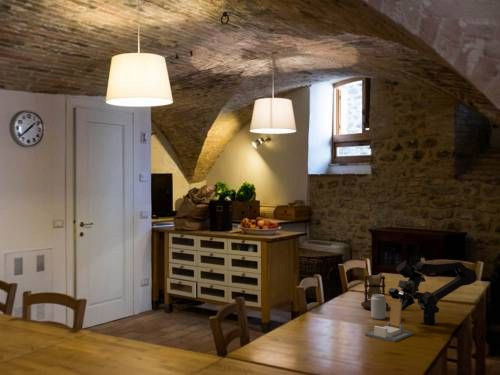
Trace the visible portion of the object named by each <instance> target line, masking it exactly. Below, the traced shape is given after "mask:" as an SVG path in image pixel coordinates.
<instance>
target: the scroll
mask: <svg viewBox="0 0 500 375" xmlns="http://www.w3.org/2000/svg"><path fill="white" fill-rule="evenodd" d="M363 278H364V286H363V287H364V293H363V295H364V298H363V299H364V301H362V302H361V307H363V308H364V309H365V310H366V311H368V309H371V297H372V295H373V294H382V295H384V297H385V298H386V293H385V289H386V282H385V280H386V277H385V275H382V272H380V275H379V274H378V275H376V274H375V275H374V274H373V275H371V274H370V272H368V271H367V275H364V277H363ZM381 283H382V284H381ZM381 288H382V289H381ZM387 308H389V303H387V302H386V309H387Z"/></svg>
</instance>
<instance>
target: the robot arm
mask: <svg viewBox="0 0 500 375" xmlns="http://www.w3.org/2000/svg"><path fill="white" fill-rule="evenodd" d="M395 271H397V273H398V274H400V275H401V276H402V277H403V278H404V279H408V280H401V279H399V280H398V286H397V287H398V288H400V291H399V289H398V288H393V287H390V288H388V291H387V293H388V294H389V295H390V297H391V298H392V299H393V300H400V301H399V302H402V308H401V312H403V311H404V310H406V309H407V308H408V307H410V306H412V305H413V304H416V300H417V305H418V306H419V307H420V310H422V311H423V317H422V318H423V320H422V321H420V324H423V325H428V326H435V325H438V324H439V321H436V316H437V315H436V314H438V313H439V311H440V307H438V306H437V305H438V303H439V301H440V300H442V299H443V298H445V297H446V296H448V295H450V294H452V293H453V292H455V291H456V290H458V289H460V288H461V287H463V286H469V285H471V284H474V283H475V282H477V278H478V277H477V273H476V272H475V271H472V270H471V269H470V268H468V267H466V266H465V265H464V264H463V263H462V262H461V261H458V260H453V261H444V262H443V261H442V262H434V263H433V262H425V261H418V262H417V263H416V264H414V265H411V264H410V263H409V261H407V260H404V261H403V262H400V263H399V264H398V265H397V266H396V270H395ZM445 271H446V272H447V271H455V274H456V275H455V276H456V277H455V278H454V279H452V280H451V281H449V282H447V283H446V284H444V285H443V286H440V287H439V288H437V289H435V290H434V291H433V292H431V291H427V290H426V291H425V292H421V291H420V290H419V288H420V286H421V283H425V282H426V278H425V276H429V275H433V274H434V273H437V272H445Z"/></svg>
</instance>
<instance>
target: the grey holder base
mask: <svg viewBox="0 0 500 375" xmlns="http://www.w3.org/2000/svg"><path fill="white" fill-rule="evenodd" d="M398 327H399V328H397V327H394V326H391V324H390V321H387V322H386V325H384V326H378V325H374V326H373V330H371V331H368V332H366V333H364V335H365V337H369V338H374V339H378V340H382V341H387V342H390V343H391V342H392V343H396V342H398V341H401V340H404V339H406V338H408V337H410V336H412V335H414V331H410V330H404V324H403V323H400V325H399V326H398Z"/></svg>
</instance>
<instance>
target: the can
mask: <svg viewBox="0 0 500 375" xmlns="http://www.w3.org/2000/svg"><path fill="white" fill-rule="evenodd" d="M370 300H371V308H370V315H371V318H372V319H373V320H384V319H386V318H387V308H386V303H387V298H386V296H385V297H384V295H382V293H381V294H373V295H372V297H371V299H370Z"/></svg>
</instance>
